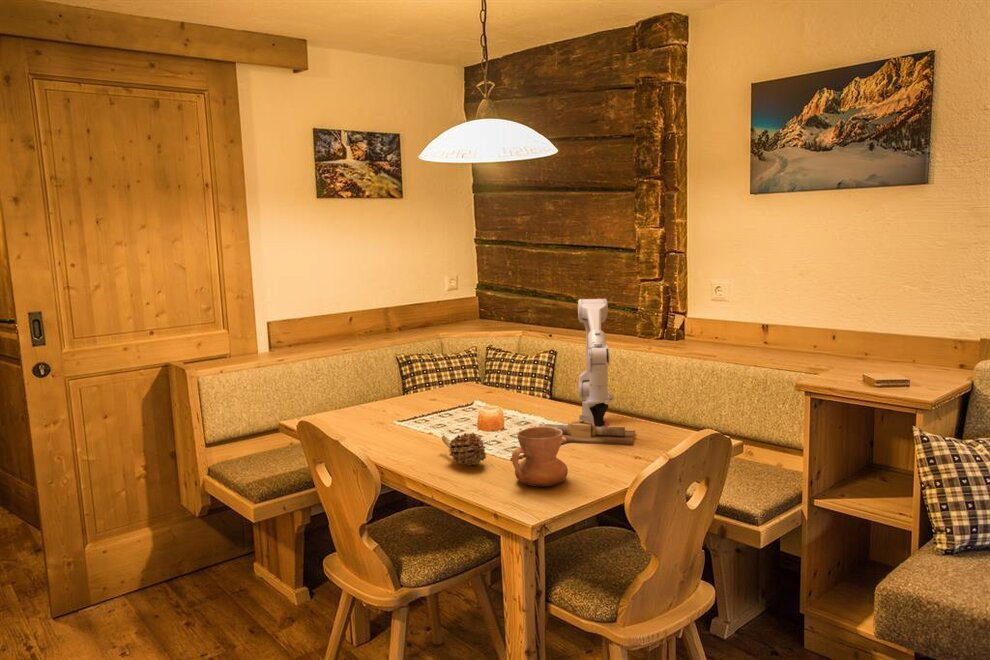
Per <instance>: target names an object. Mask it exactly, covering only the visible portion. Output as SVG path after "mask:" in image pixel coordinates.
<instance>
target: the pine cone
mask: <svg viewBox="0 0 990 660" xmlns="http://www.w3.org/2000/svg"><path fill="white" fill-rule="evenodd" d="M441 439H442V440H441V441H442V442H443V443H444V445H446V447H448V448H449V449H448V452H449V454H448V456H451V457H452V461H453V462H456V463H459V464H460V465H467V466H473V465H479V464H480V463H481V461H482V462H484V460H485V459H486V458H487V453H485V451H486V448H487V446H485V444H486V442H484V440H483V439H482V436H479V437H478V435H477V434H476V433H474V432H471V433H467V432H465V433H463V434H461V435H459V434H458V435H457V436H456V437H454V438H453V439H451V441H450V442H449V439H448V437H447V436H446V435H445V434H443V435H442V436H441Z"/></svg>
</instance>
